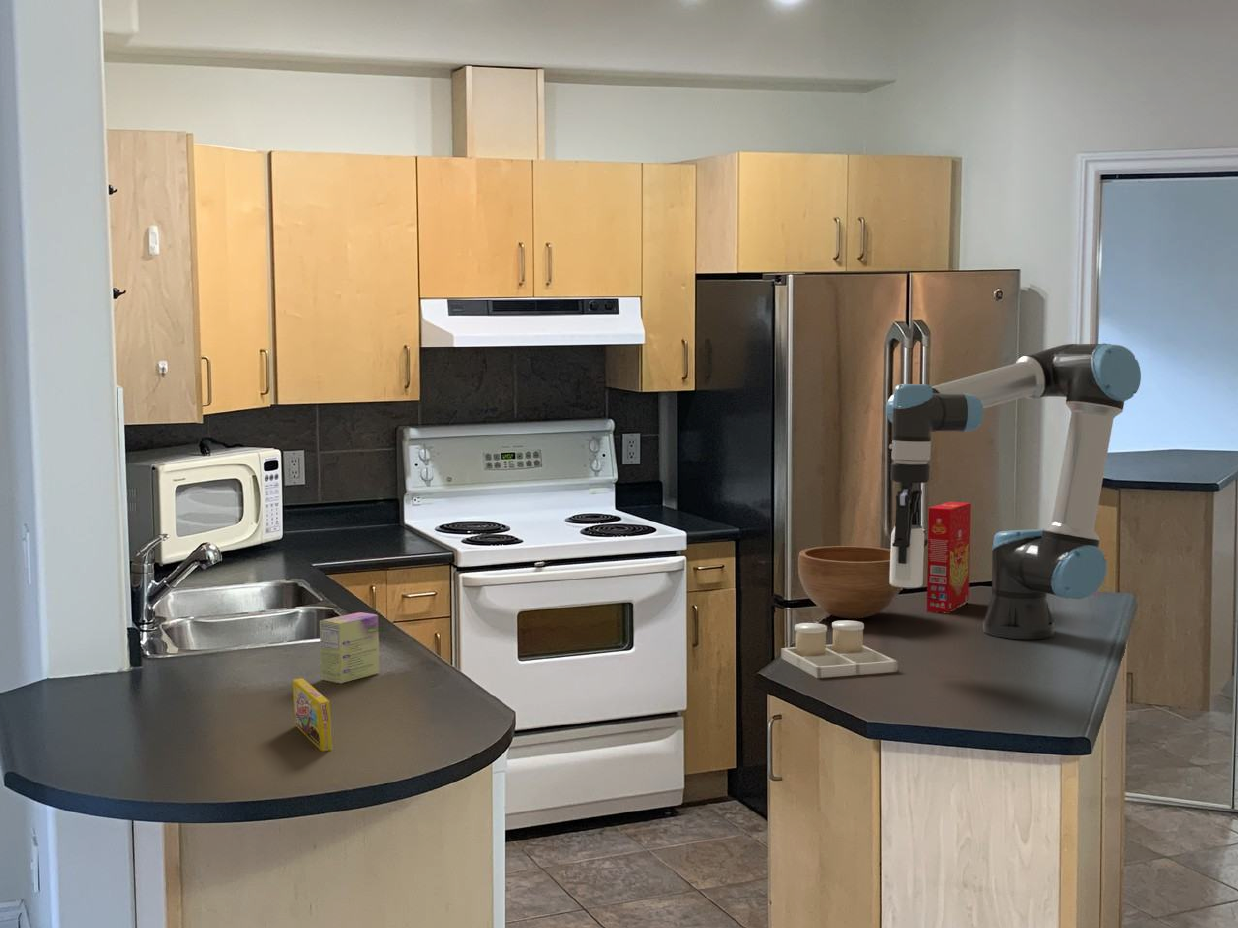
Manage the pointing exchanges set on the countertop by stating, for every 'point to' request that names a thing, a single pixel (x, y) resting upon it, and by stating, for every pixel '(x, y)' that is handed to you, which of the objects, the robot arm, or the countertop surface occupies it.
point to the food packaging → (948, 556)
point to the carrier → (841, 662)
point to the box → (349, 647)
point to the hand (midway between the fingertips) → (906, 576)
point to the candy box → (312, 714)
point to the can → (915, 560)
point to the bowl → (847, 579)
